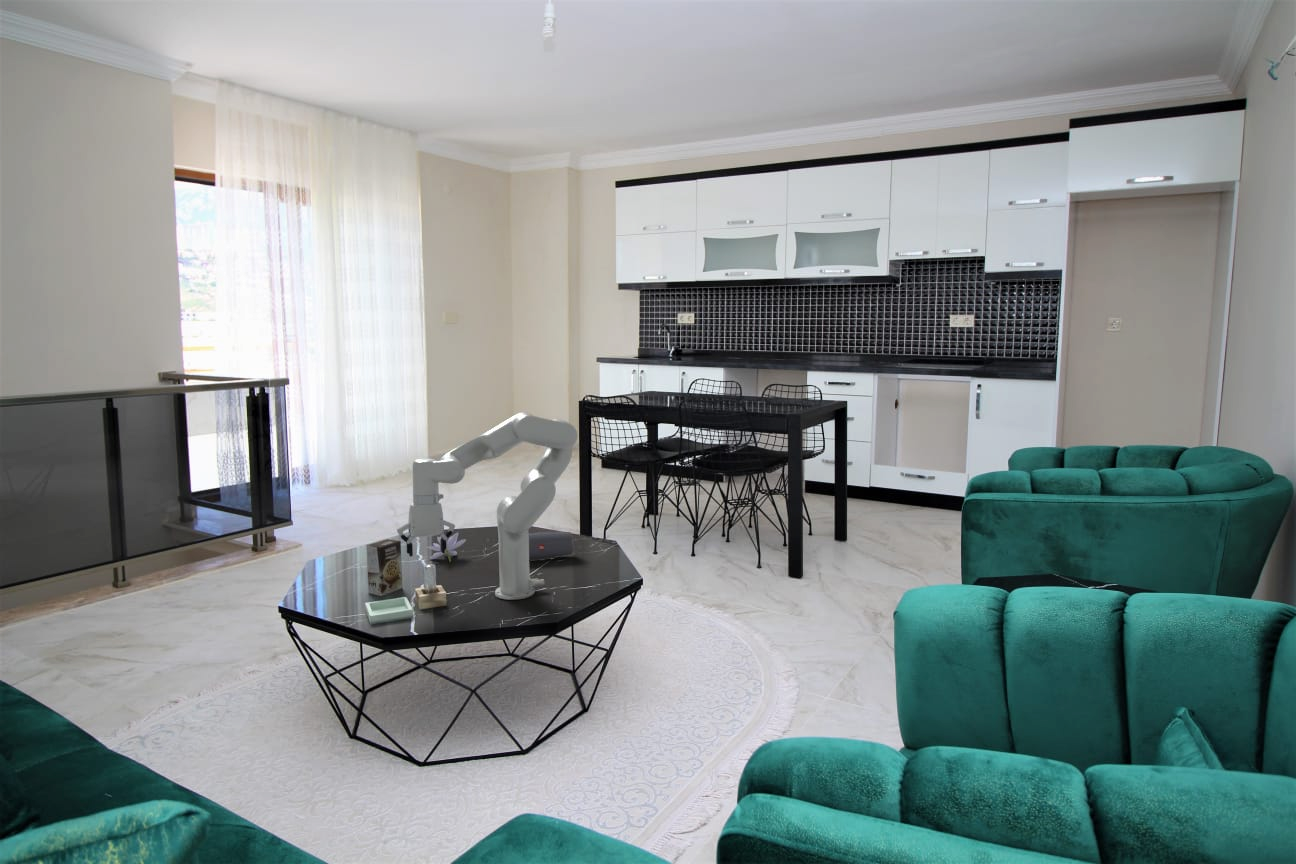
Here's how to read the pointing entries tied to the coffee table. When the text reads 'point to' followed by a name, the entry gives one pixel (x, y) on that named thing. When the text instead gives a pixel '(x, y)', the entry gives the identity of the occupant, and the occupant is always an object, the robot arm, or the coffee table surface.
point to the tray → (388, 610)
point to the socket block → (430, 598)
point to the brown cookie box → (384, 567)
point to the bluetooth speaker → (549, 545)
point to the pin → (429, 578)
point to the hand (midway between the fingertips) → (426, 553)
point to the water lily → (449, 546)
